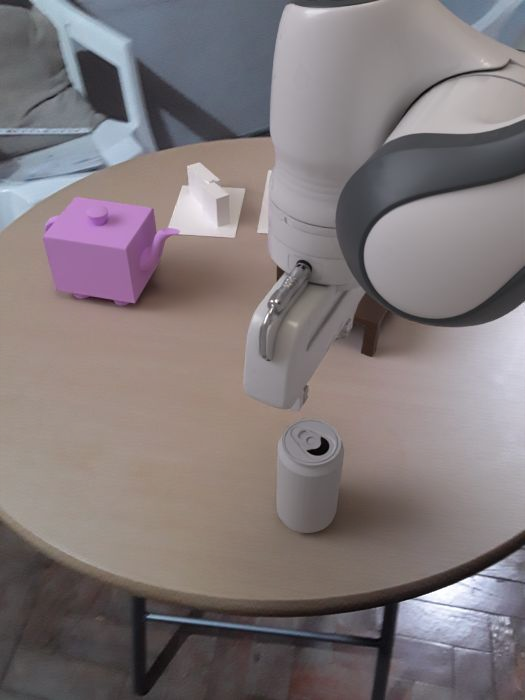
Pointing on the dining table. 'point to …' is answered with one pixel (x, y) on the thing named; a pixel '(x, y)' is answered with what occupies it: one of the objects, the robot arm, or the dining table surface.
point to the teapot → (104, 249)
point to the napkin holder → (206, 205)
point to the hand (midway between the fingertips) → (317, 365)
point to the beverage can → (308, 474)
